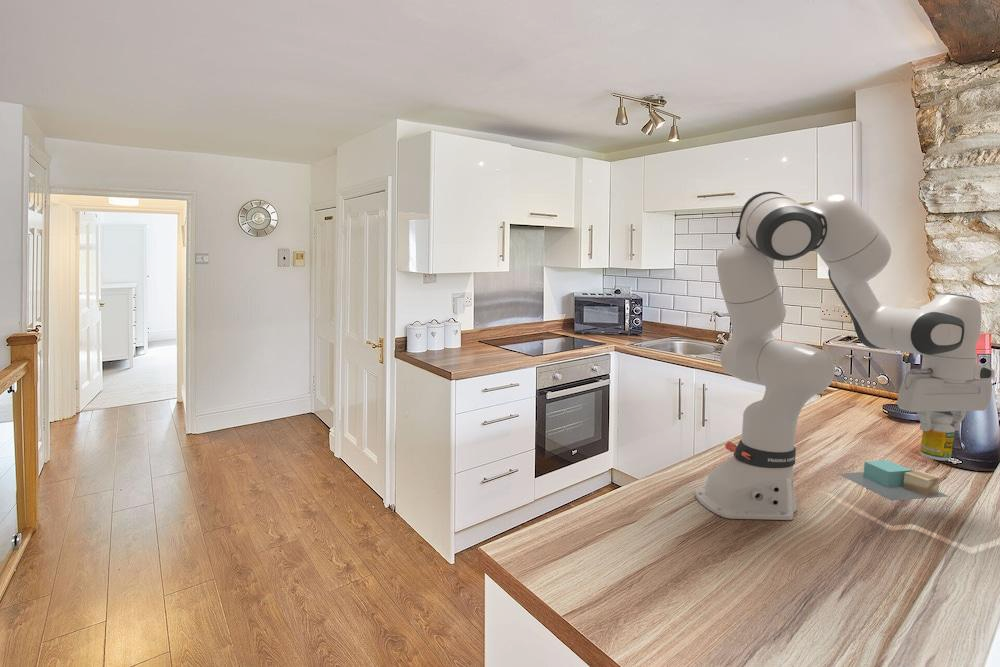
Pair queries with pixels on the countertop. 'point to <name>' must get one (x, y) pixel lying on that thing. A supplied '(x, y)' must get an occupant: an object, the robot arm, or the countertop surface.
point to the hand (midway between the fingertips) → (939, 430)
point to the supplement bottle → (938, 438)
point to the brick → (921, 482)
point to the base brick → (885, 472)
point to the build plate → (887, 488)
